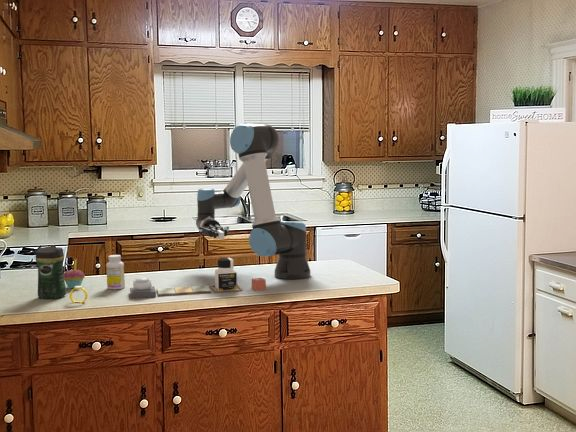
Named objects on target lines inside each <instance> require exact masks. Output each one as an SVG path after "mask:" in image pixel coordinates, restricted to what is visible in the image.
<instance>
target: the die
mask: <svg viewBox="0 0 576 432" xmlns="http://www.w3.org/2000/svg"><path fill="white" fill-rule="evenodd" d="M266 281H267V279H265V278H263V277H253V278H251V289H252V290H254V291H264V290H265V291H266V290H267V289H266V288H267V284H266Z"/></svg>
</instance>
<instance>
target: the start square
mask: <svg viewBox="0 0 576 432" xmlns="http://www.w3.org/2000/svg"><path fill="white" fill-rule="evenodd" d="M209 287H210V290H212V292H213V293H214V294H216V293H218V294H219V293H231V292H233V293H234V292H243V288H241V286H240V285H239V284H238V283H237V290H229V291H218V290H215V289H214V288H216V287H215V285H210V286H209Z"/></svg>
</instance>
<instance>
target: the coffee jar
mask: <svg viewBox="0 0 576 432" xmlns="http://www.w3.org/2000/svg"><path fill="white" fill-rule="evenodd" d="M64 260H65V254H64V250H63V248H62V247H58V246H57V247H55V246H53V247H52V246H50V247H49V246H47V247H46V246H45V247H40V248H37V249H36V251H35V262H36V265H37V297H38V298H39V299H44V300H47V299H49V300H52V299H58V298H63V296H64V297H65V296H66V295H67V286H66V282H65V280H64Z"/></svg>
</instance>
